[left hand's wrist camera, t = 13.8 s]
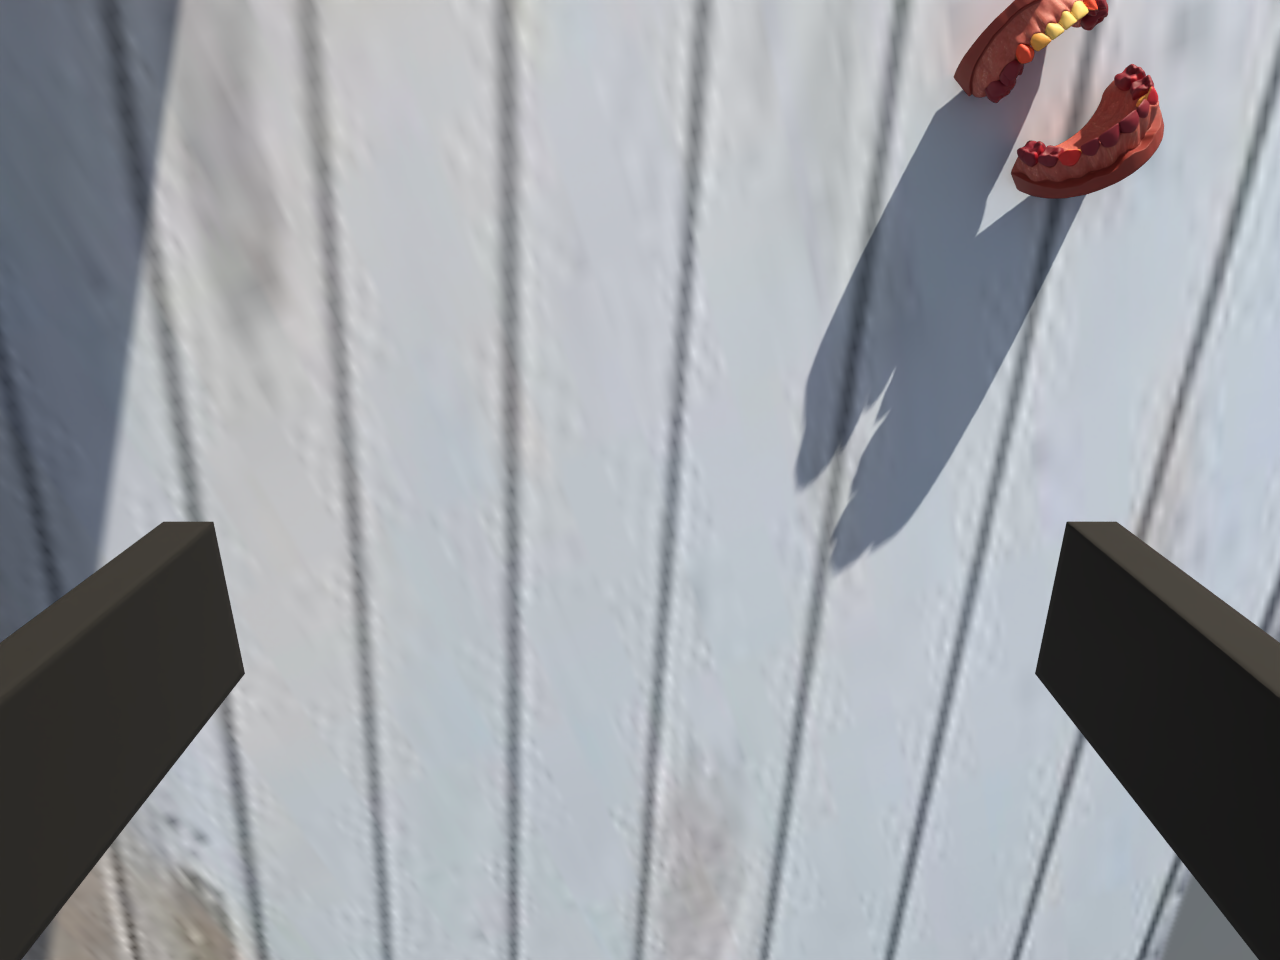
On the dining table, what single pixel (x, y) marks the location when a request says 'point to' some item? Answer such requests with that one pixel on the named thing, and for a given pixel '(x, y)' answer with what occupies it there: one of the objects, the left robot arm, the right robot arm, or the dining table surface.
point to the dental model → (1109, 138)
